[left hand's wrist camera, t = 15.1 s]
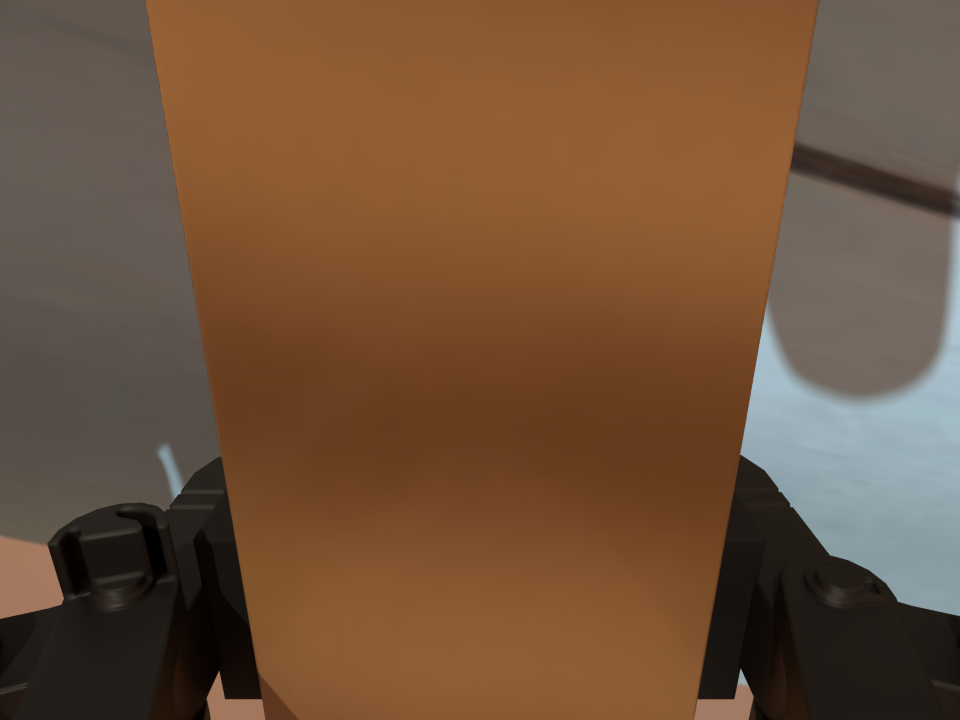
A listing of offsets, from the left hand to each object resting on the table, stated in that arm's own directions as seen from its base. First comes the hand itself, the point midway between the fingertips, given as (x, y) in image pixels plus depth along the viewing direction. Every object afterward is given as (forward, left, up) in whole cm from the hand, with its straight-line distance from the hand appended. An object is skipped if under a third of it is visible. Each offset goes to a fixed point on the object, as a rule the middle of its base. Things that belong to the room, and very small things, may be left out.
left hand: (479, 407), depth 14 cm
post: (+23, +17, -1) cm, 28 cm away
